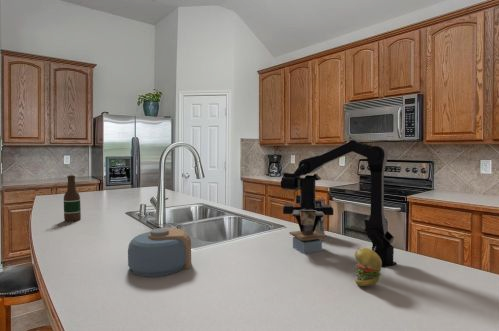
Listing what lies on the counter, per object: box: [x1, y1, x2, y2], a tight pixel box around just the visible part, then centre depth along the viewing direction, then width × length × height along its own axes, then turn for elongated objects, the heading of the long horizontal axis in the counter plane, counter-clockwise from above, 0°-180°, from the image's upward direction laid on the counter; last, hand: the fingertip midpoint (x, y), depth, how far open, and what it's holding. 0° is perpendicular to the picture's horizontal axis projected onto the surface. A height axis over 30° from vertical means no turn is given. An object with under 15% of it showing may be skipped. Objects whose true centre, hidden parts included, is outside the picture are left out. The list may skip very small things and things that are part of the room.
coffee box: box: [301, 198, 326, 236], centre depth 143 cm, size 9×6×16 cm
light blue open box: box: [292, 236, 323, 254], centre depth 123 cm, size 8×8×4 cm
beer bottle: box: [63, 174, 82, 223], centre depth 170 cm, size 8×8×24 cm
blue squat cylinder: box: [127, 227, 192, 277], centre depth 106 cm, size 19×20×12 cm
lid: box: [288, 223, 326, 241], centre depth 123 cm, size 10×10×4 cm
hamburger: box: [354, 247, 382, 287], centre depth 91 cm, size 8×7×12 cm
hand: (307, 231), depth 123 cm, fingers closed on lid, 4 cm apart
